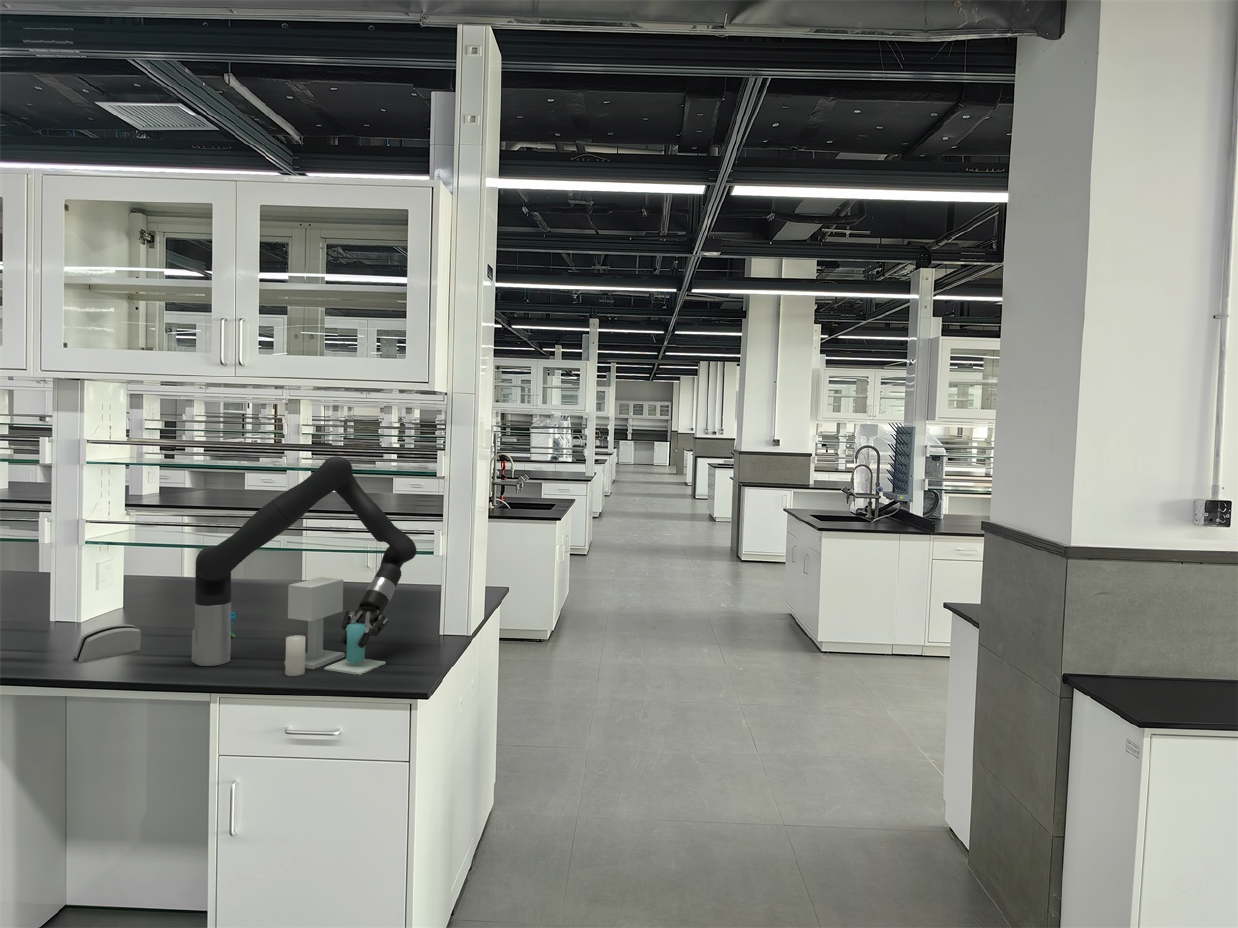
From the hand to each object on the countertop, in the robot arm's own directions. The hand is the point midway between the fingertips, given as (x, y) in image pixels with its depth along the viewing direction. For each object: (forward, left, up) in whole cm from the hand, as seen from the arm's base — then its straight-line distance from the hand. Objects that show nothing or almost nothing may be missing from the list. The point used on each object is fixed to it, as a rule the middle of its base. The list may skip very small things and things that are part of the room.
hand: (351, 645), depth 232 cm
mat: (0, +2, -7) cm, 7 cm away
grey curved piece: (-70, -18, -7) cm, 73 cm away
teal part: (0, +2, -5) cm, 5 cm away
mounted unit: (-14, +2, -7) cm, 16 cm away
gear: (-58, +12, -7) cm, 60 cm away
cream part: (-11, -10, -7) cm, 16 cm away
